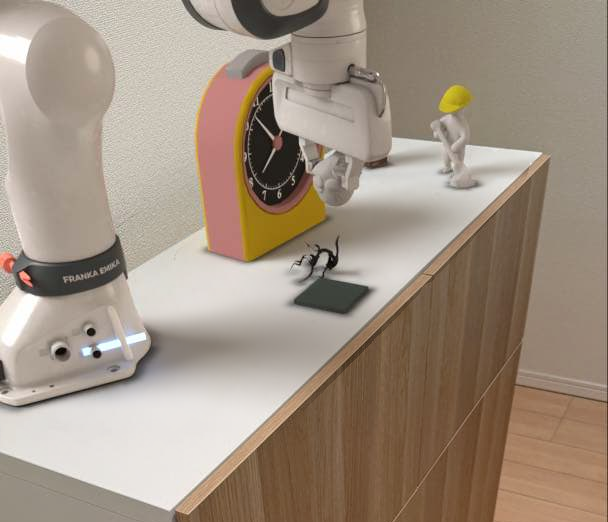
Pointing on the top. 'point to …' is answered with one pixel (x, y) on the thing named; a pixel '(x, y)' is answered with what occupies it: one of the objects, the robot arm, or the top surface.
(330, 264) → the creature
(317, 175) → the white rounded lump
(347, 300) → the coaster pad
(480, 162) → the top surface
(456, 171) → the figurine
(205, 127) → the alarm clock
